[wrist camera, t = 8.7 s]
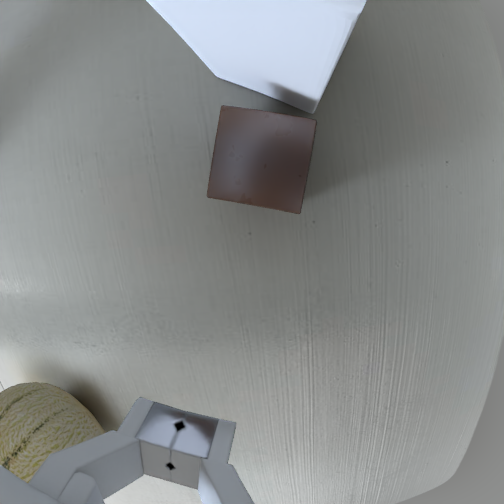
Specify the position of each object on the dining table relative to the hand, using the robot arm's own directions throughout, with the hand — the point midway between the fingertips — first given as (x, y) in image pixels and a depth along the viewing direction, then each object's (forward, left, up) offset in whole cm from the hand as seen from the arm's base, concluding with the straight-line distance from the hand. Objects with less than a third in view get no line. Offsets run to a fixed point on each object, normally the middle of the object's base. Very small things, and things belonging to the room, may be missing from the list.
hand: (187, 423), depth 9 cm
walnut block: (-8, 0, -15) cm, 17 cm away
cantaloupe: (+21, -17, -15) cm, 31 cm away
